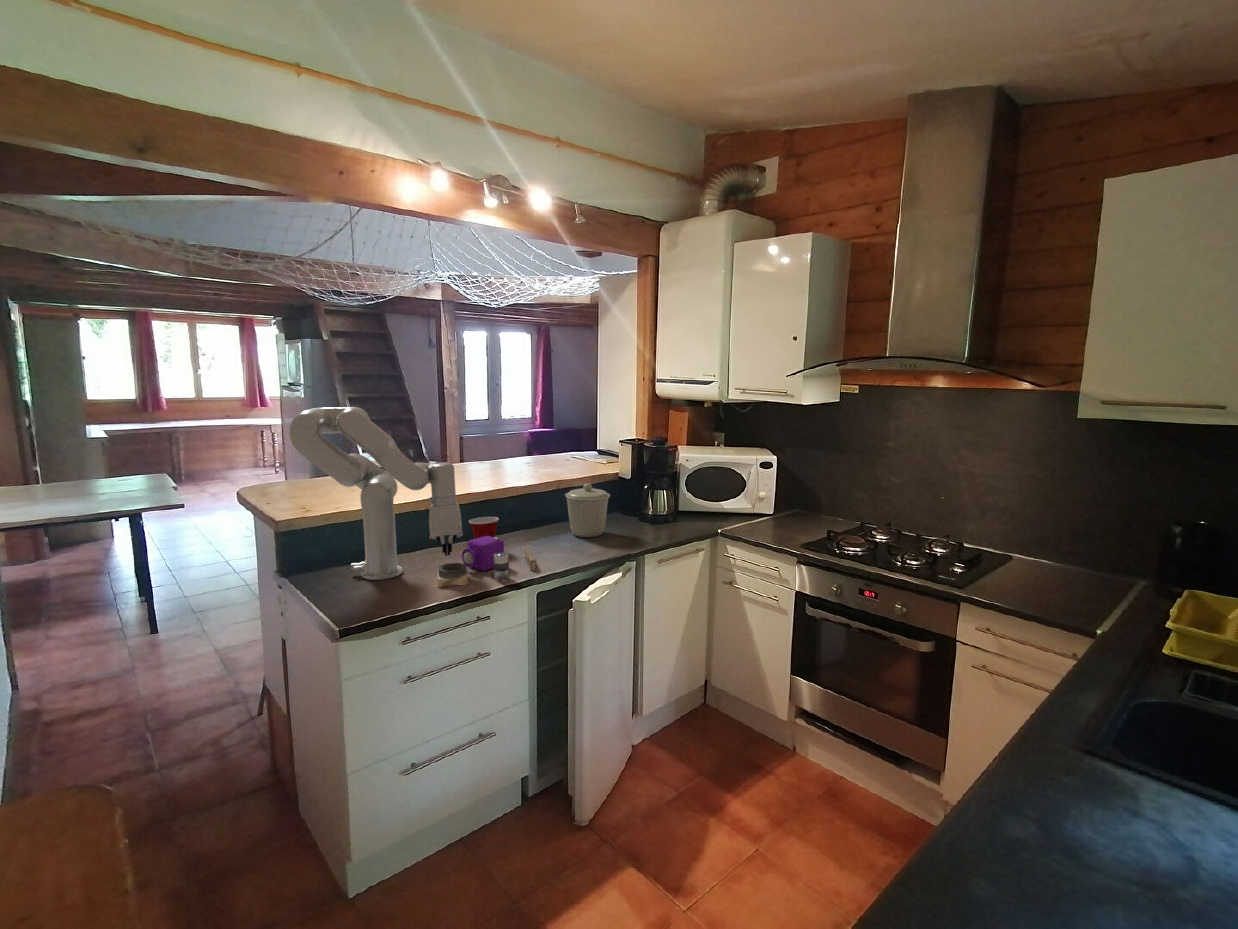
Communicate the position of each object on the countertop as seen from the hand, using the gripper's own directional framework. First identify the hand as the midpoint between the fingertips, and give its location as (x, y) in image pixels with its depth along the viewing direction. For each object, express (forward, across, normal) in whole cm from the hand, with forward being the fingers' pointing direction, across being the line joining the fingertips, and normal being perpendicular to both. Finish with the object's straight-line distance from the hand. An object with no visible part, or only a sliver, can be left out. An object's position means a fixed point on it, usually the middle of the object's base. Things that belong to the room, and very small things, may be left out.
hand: (447, 554), depth 202 cm
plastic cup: (+6, +13, +20) cm, 24 cm away
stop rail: (+6, +27, 0) cm, 28 cm away
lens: (+6, +16, -12) cm, 21 cm away
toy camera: (+6, +11, 0) cm, 13 cm away
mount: (+6, +1, -11) cm, 12 cm away
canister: (+7, +55, +32) cm, 64 cm away
